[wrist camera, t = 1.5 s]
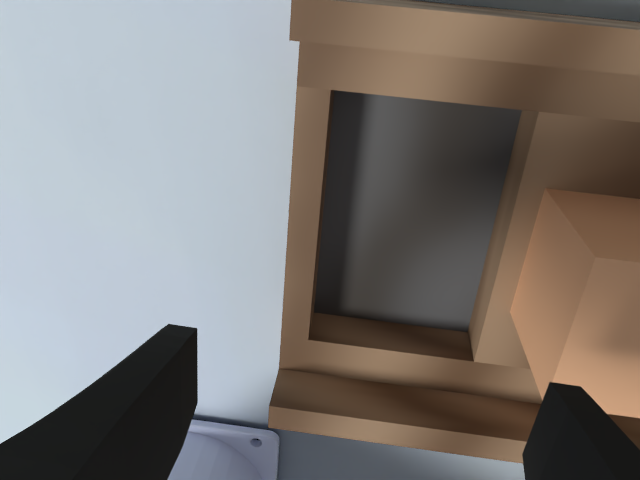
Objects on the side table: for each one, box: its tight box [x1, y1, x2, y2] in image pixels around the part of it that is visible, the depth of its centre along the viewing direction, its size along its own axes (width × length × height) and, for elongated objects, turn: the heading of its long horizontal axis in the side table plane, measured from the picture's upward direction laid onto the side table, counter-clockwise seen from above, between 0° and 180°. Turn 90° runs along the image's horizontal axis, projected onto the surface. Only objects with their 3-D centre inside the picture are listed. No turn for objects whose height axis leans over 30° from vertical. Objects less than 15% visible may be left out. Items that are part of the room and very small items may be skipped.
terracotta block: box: [510, 188, 640, 418], centre depth 16 cm, size 4×4×4 cm
